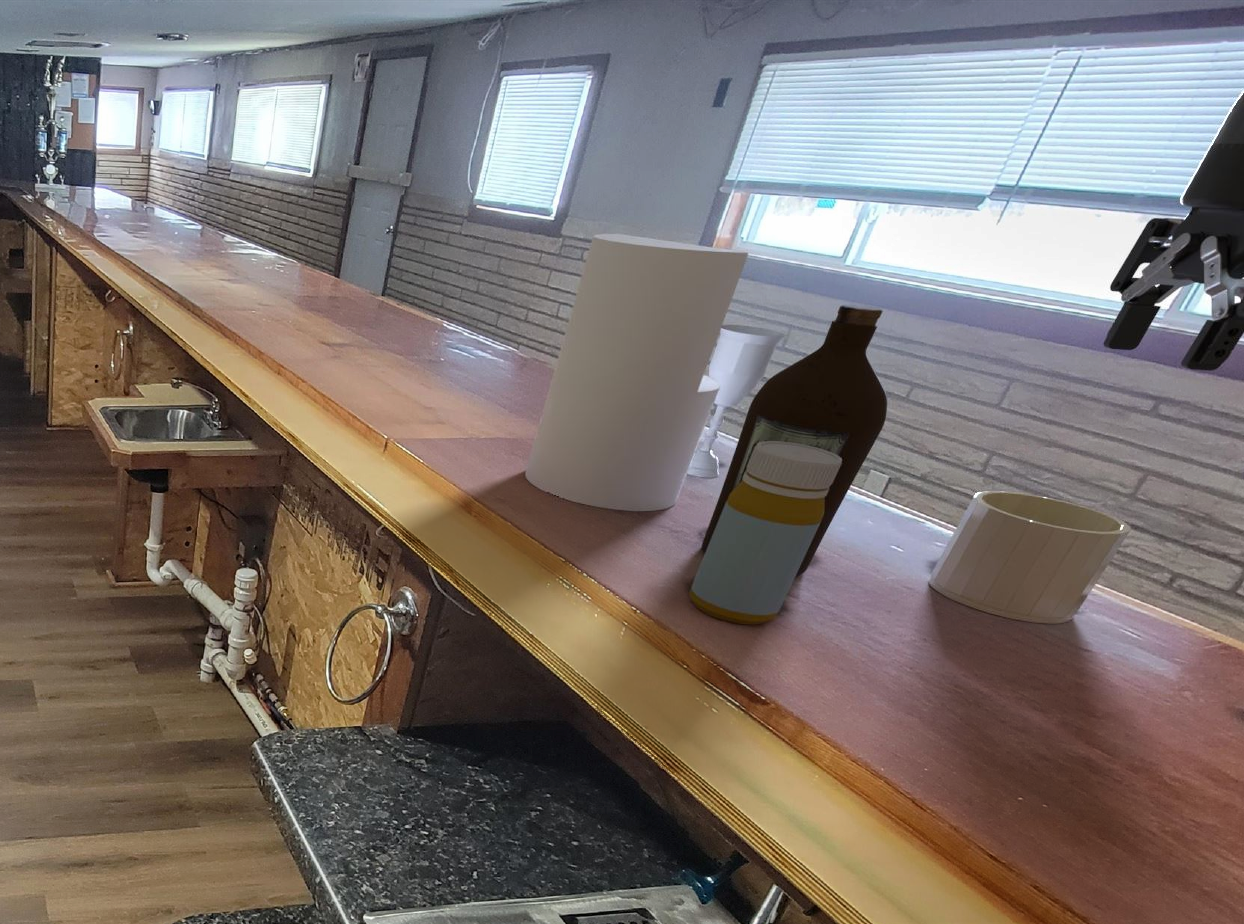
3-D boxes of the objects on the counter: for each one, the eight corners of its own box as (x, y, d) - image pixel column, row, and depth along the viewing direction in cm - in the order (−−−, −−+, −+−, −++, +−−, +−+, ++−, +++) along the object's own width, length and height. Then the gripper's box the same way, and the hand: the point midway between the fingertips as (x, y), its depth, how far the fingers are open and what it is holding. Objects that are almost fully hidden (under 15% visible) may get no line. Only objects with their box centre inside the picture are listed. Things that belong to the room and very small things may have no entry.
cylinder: (593, 516, 104) (682, 252, 90) (495, 467, 118) (559, 232, 104) (710, 505, 108) (812, 253, 94) (602, 460, 123) (677, 234, 109)
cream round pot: (1024, 581, 92) (1075, 498, 88) (1102, 630, 83) (1163, 540, 79) (905, 568, 94) (949, 485, 90) (969, 614, 85) (1021, 525, 80)
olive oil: (712, 531, 101) (809, 294, 89) (824, 562, 94) (945, 311, 82) (679, 555, 95) (778, 303, 82) (796, 590, 88) (923, 322, 76)
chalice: (741, 479, 118) (800, 336, 109) (697, 481, 116) (753, 336, 107) (697, 461, 124) (750, 324, 115) (655, 463, 123) (705, 324, 114)
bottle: (767, 602, 85) (838, 447, 78) (780, 634, 80) (858, 470, 72) (683, 586, 88) (744, 435, 80) (690, 616, 82) (757, 456, 75)
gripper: (1444, 142, 62) (1284, 381, 70) (1261, 142, 74) (1142, 345, 82) (1313, 138, 64) (1170, 373, 72) (1154, 139, 76) (1047, 339, 84)
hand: (1155, 358), depth 77 cm, fingers open, 8 cm apart
